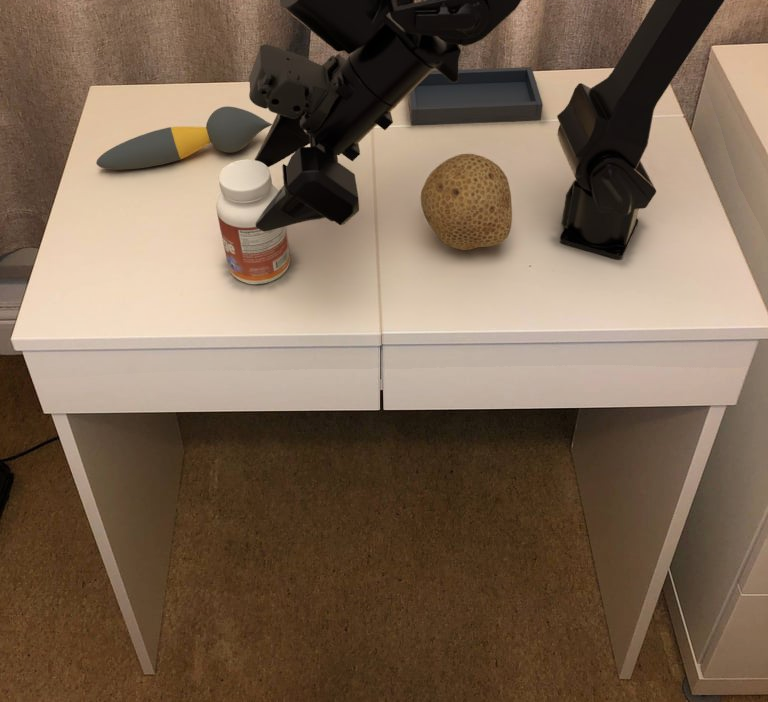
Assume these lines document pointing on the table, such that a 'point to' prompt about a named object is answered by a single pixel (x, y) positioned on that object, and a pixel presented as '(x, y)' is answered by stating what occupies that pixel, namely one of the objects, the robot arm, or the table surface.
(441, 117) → the tray
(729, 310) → the table surface
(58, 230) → the table surface
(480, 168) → the natural sponge
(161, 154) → the paintbrush
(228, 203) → the pill bottle
